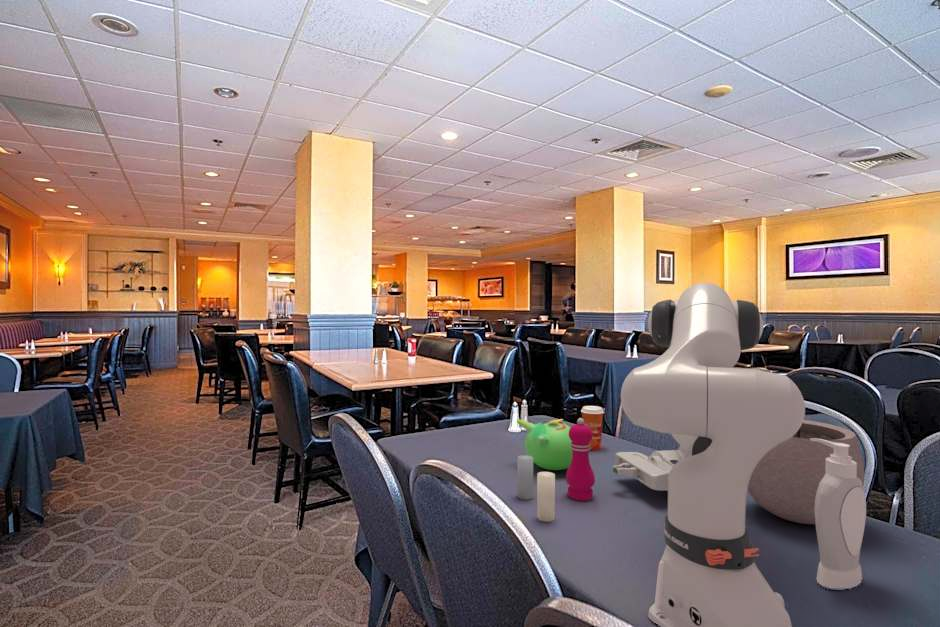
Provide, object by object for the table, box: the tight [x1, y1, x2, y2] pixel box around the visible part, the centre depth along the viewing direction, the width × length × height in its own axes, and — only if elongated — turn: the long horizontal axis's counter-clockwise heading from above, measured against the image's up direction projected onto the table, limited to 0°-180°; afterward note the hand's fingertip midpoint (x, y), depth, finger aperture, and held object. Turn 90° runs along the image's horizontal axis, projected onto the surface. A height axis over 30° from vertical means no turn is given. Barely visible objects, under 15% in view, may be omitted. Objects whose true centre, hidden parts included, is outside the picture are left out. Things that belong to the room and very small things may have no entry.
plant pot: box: [747, 387, 865, 525], centre depth 113 cm, size 24×24×30 cm
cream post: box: [536, 471, 556, 523], centre depth 113 cm, size 4×4×10 cm
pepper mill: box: [565, 417, 596, 501], centre depth 126 cm, size 7×7×20 cm
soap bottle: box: [810, 438, 867, 588], centre depth 88 cm, size 13×8×24 cm, turn 115°
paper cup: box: [580, 405, 605, 451], centre depth 168 cm, size 8×8×14 cm
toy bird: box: [516, 418, 572, 471], centre depth 148 cm, size 18×17×15 cm
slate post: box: [516, 454, 534, 501], centre depth 126 cm, size 4×4×10 cm
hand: (615, 470), depth 128 cm, fingers closed
